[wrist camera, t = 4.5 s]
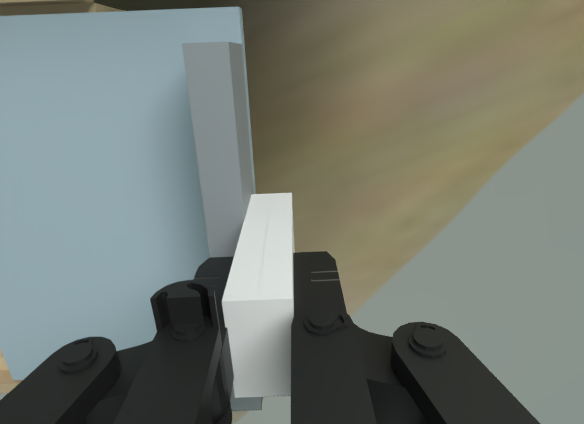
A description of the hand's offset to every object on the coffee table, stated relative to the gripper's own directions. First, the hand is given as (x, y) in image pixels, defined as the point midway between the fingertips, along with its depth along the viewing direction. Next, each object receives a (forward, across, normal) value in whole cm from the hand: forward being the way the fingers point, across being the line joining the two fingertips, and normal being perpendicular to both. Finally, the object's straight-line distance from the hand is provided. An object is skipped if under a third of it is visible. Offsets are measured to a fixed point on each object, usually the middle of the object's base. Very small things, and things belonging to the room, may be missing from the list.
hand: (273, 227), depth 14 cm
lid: (+2, -7, 0) cm, 7 cm away
